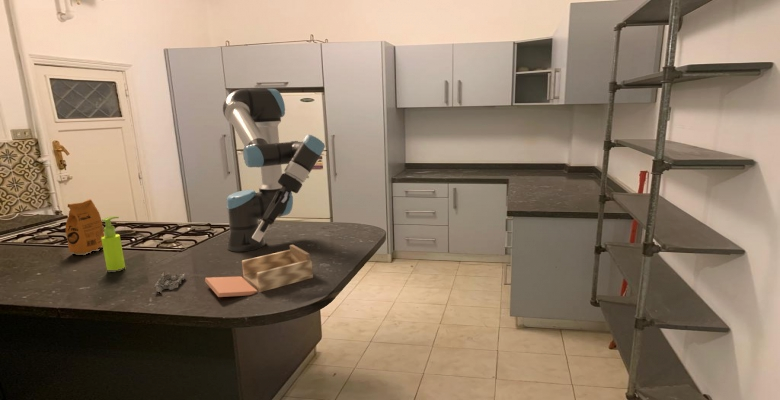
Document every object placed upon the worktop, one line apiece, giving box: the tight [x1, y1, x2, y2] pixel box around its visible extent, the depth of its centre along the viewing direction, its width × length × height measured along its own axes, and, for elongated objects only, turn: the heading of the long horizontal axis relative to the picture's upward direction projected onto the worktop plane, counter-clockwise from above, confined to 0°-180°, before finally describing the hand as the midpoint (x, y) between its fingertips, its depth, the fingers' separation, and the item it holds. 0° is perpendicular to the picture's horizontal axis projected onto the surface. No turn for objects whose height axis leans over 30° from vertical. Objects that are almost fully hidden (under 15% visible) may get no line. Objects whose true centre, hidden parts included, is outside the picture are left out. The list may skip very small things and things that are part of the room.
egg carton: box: [153, 271, 185, 292], centre depth 148 cm, size 11×8×4 cm
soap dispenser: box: [101, 216, 126, 271], centre depth 166 cm, size 6×7×20 cm
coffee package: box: [65, 198, 105, 253], centre depth 190 cm, size 10×12×22 cm
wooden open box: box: [241, 244, 314, 293], centre depth 150 cm, size 18×16×9 cm
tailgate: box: [204, 275, 258, 298], centre depth 141 cm, size 1×16×12 cm
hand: (255, 239), depth 146 cm, fingers closed
